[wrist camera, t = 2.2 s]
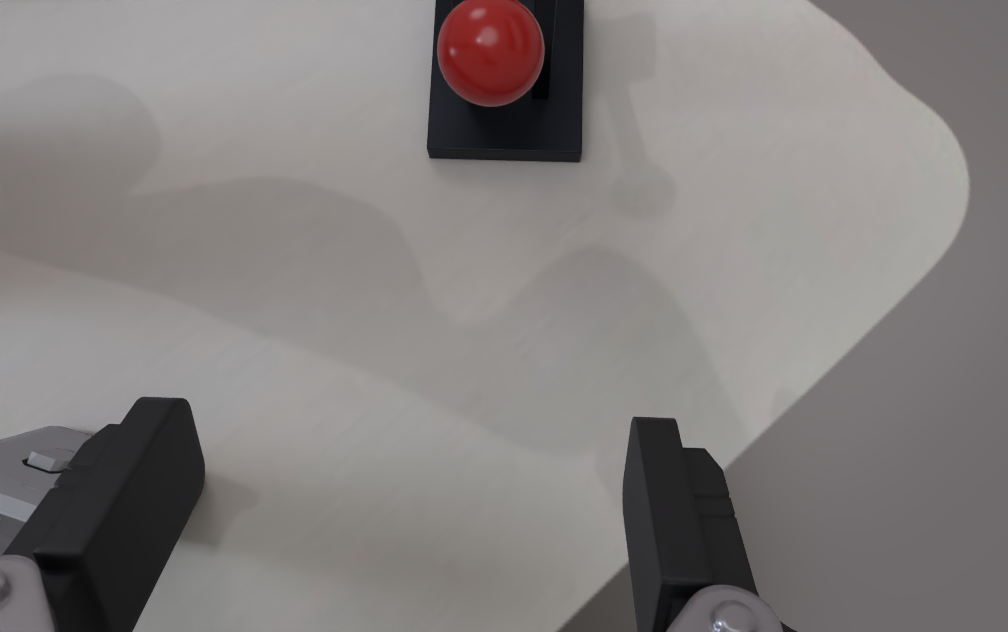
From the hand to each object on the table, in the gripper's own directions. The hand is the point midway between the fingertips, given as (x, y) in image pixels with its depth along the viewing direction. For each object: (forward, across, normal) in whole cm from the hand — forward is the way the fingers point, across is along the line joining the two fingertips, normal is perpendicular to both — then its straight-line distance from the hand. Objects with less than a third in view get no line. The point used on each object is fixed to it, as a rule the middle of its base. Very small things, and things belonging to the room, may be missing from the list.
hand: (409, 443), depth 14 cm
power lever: (+22, -1, -3) cm, 22 cm away
